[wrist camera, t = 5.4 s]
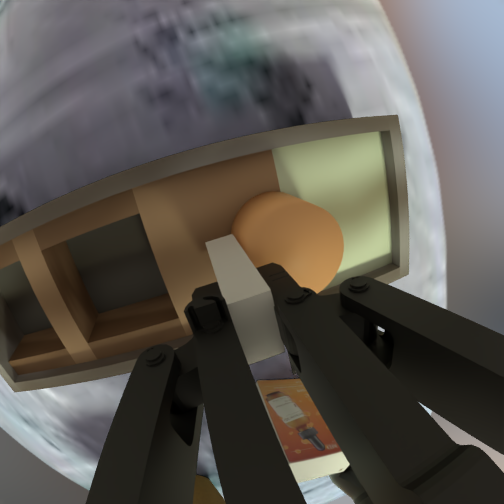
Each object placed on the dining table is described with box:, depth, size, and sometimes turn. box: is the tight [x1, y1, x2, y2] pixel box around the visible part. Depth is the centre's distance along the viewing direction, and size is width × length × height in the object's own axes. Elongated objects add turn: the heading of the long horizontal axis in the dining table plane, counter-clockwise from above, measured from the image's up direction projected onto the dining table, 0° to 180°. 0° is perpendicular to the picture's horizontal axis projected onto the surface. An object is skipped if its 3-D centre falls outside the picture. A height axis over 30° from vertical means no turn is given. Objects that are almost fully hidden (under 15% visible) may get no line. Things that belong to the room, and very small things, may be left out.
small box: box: [256, 378, 350, 483], centre depth 24 cm, size 8×6×10 cm
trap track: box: [0, 115, 409, 392], centre depth 18 cm, size 12×34×6 cm, turn 104°
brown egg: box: [231, 191, 344, 294], centre depth 15 cm, size 5×5×4 cm
